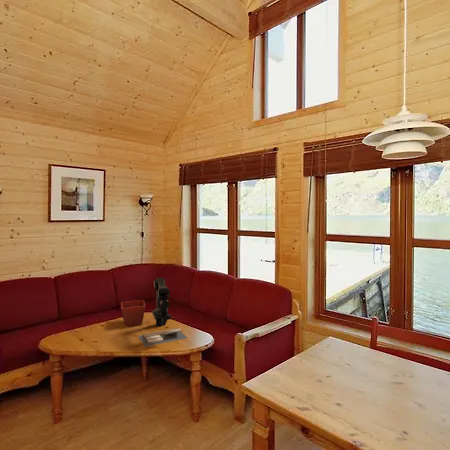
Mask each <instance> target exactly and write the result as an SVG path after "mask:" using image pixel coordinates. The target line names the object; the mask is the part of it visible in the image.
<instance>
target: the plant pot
mask: <svg viewBox="0 0 450 450" xmlns="http://www.w3.org/2000/svg"><path fill="white" fill-rule="evenodd" d="M120 310H121V315H122V320H123V323H124V325H125V327H132V326H141V325H143V321H144V317H145V311H146V303H145V300H144V299H140V300H129V301H122V302H120Z"/></svg>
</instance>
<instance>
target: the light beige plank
mask: <svg viewBox="0 0 450 450" xmlns="http://www.w3.org/2000/svg"><path fill="white" fill-rule="evenodd" d="M146 340H147V341H148V343H149V344H151V343H156V342H161V341H163V338H162V337H161V336H160V335H155V336H150V337H146Z"/></svg>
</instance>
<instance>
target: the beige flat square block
mask: <svg viewBox="0 0 450 450" xmlns="http://www.w3.org/2000/svg"><path fill="white" fill-rule="evenodd" d="M179 331H181V328H175V330H169V331H167V332H165V333H164V336H165V335H170V334H175V333H178V332H179ZM181 332H182V331H181Z"/></svg>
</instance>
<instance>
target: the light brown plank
mask: <svg viewBox="0 0 450 450" xmlns="http://www.w3.org/2000/svg"><path fill="white" fill-rule="evenodd" d="M175 329H176V328H174V327H173V328H170V329H163V330H159V331H158V330H157V331H152V332H148V333H147V332H146V333H143V334H142V335H143V337H144V338H145V339H146V337H150V336H155V335H160V336H162V335H164V333H165V332H167V331H169V330H175Z"/></svg>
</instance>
